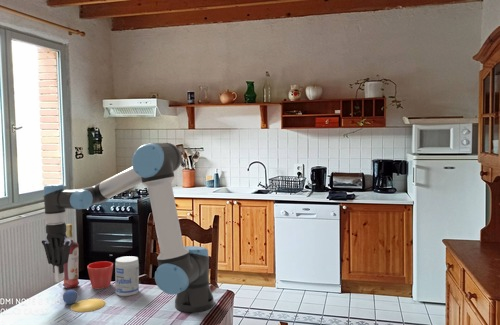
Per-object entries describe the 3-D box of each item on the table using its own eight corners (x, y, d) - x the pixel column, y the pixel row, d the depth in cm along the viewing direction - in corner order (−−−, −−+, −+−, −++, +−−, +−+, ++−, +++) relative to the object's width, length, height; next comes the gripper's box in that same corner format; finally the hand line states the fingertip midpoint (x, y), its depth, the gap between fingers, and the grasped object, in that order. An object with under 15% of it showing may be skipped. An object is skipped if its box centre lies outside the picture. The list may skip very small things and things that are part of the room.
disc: (107, 308, 170) (107, 307, 170) (71, 314, 165) (71, 314, 164) (103, 297, 182) (103, 296, 182) (69, 302, 176) (69, 302, 176)
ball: (62, 303, 176) (74, 308, 175) (58, 297, 172) (69, 302, 171) (70, 291, 180) (82, 295, 178) (66, 285, 176) (78, 289, 174)
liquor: (72, 290, 190) (70, 226, 188) (58, 288, 192) (56, 225, 190) (83, 284, 197) (81, 223, 195) (70, 283, 199) (67, 222, 197)
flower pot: (106, 291, 189) (105, 268, 188) (83, 289, 191) (82, 267, 191) (118, 282, 199) (117, 261, 199) (96, 281, 202) (95, 260, 201)
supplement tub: (114, 297, 181) (113, 262, 180) (117, 289, 191) (116, 256, 190) (138, 296, 183) (137, 261, 182) (140, 288, 192) (139, 255, 191)
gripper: (75, 221, 177) (79, 279, 178) (48, 220, 180) (52, 277, 181) (63, 225, 169) (66, 285, 171) (35, 224, 173) (38, 283, 174)
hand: (59, 281), depth 176 cm, fingers closed
